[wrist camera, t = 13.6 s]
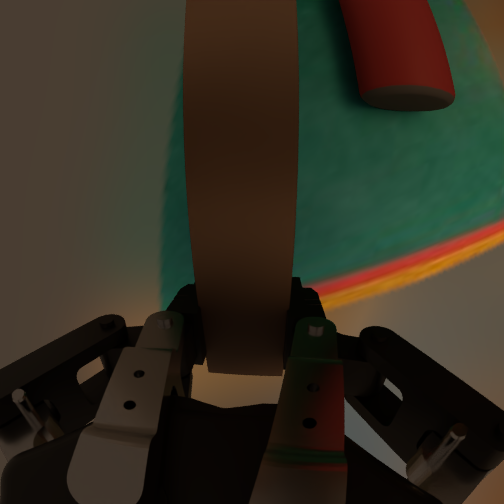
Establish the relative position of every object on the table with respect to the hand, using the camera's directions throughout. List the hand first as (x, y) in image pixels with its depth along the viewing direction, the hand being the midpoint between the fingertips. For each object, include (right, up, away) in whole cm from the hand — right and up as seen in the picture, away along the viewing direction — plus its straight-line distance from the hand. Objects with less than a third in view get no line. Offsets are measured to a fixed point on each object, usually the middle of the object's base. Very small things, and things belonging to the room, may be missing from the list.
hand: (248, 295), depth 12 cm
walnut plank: (0, +7, -2) cm, 7 cm away
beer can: (+10, +11, +1) cm, 15 cm away
